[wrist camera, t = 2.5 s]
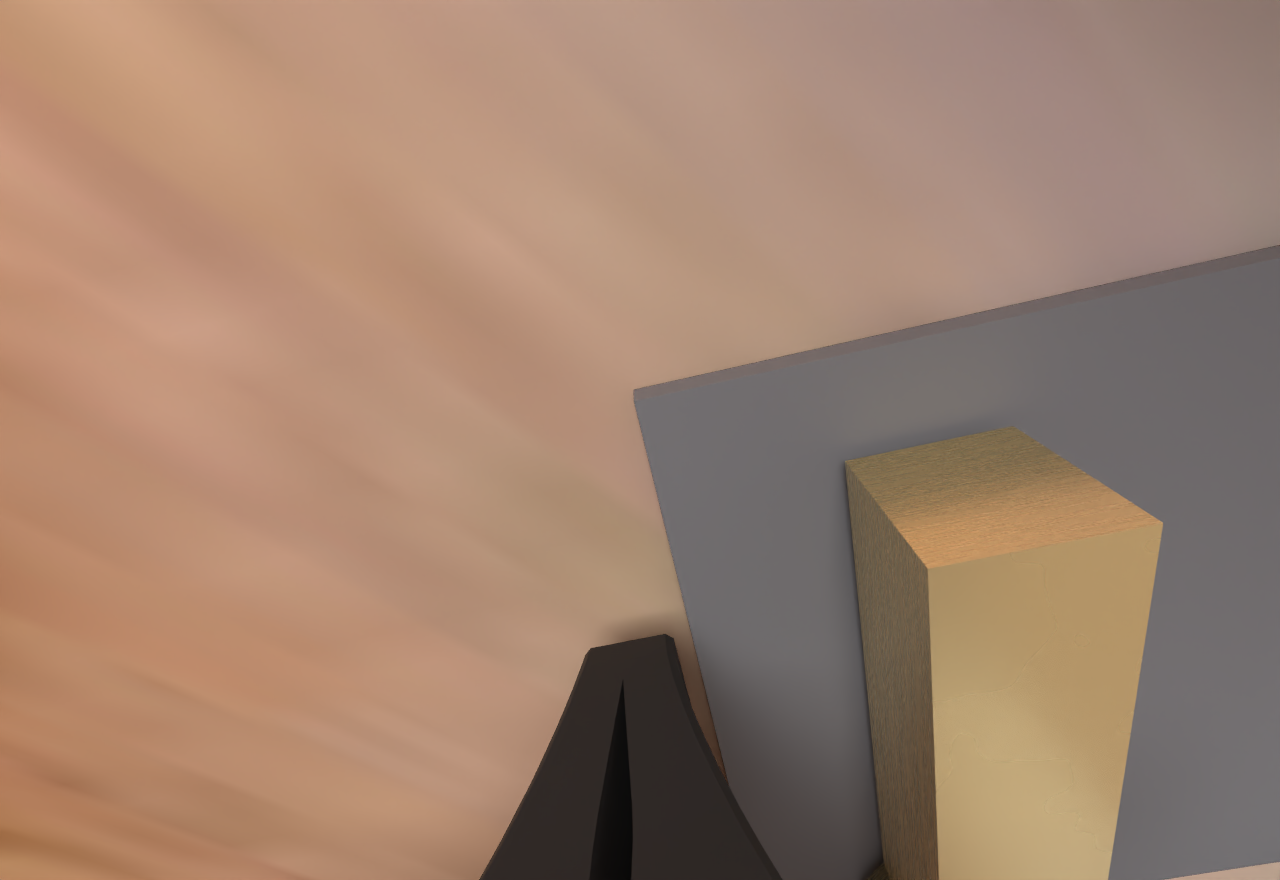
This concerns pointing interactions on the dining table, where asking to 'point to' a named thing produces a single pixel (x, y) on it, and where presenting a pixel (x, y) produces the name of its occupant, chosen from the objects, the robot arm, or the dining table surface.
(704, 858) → the robot arm
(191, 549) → the dining table surface
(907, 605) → the swing latch
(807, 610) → the plate
